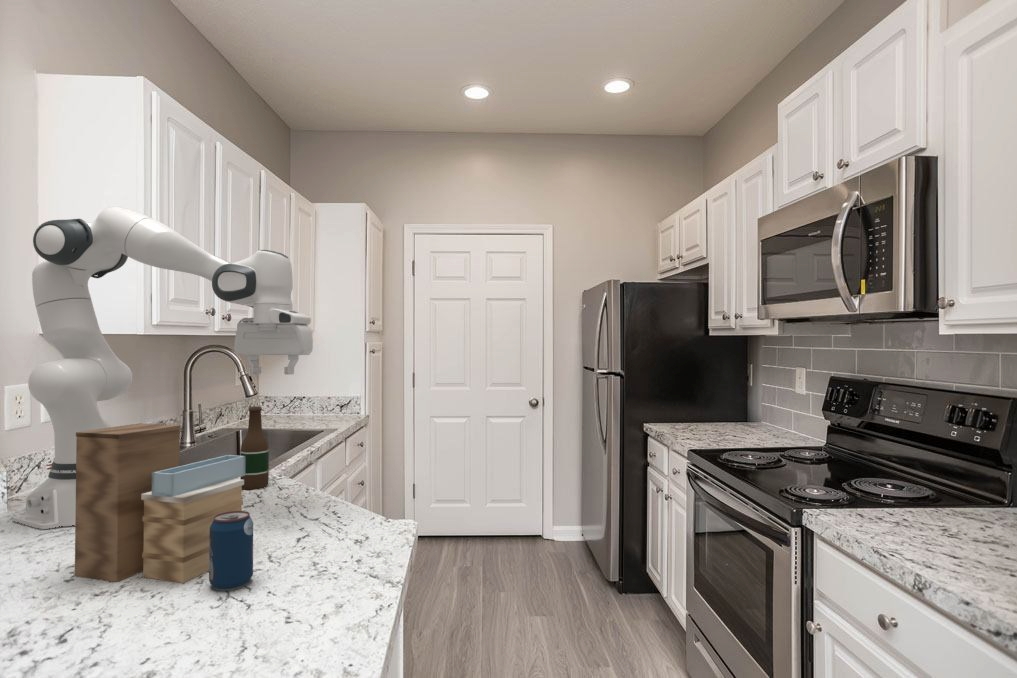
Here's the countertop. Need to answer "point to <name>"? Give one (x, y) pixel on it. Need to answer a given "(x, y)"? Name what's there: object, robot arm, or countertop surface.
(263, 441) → the beer bottle
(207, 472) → the blue-gray container
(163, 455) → the walnut stand
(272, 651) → the countertop surface
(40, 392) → the robot arm
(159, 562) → the oak crate
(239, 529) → the soda can
